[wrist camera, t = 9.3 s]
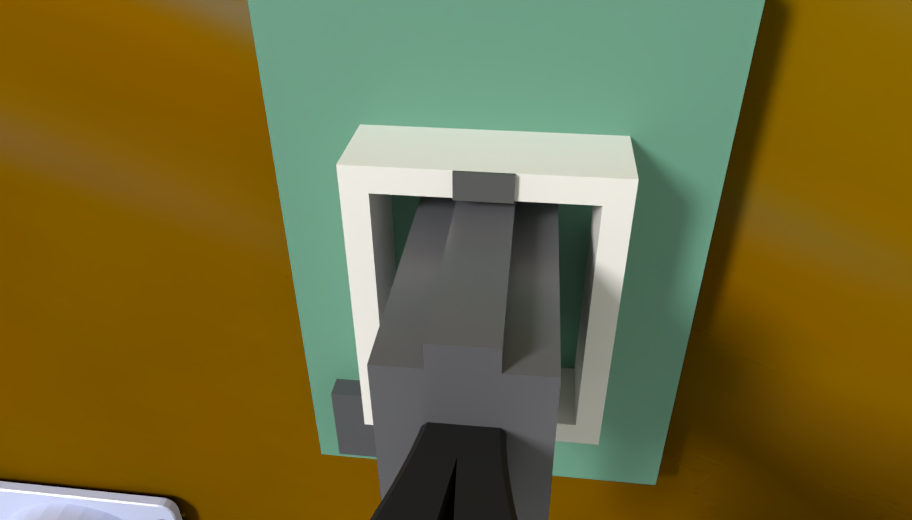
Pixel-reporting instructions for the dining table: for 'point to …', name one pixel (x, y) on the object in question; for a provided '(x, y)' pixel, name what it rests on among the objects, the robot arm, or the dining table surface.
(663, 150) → the board
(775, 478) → the dining table surface
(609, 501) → the dining table surface
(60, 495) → the robot arm
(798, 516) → the dining table surface
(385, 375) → the plug
